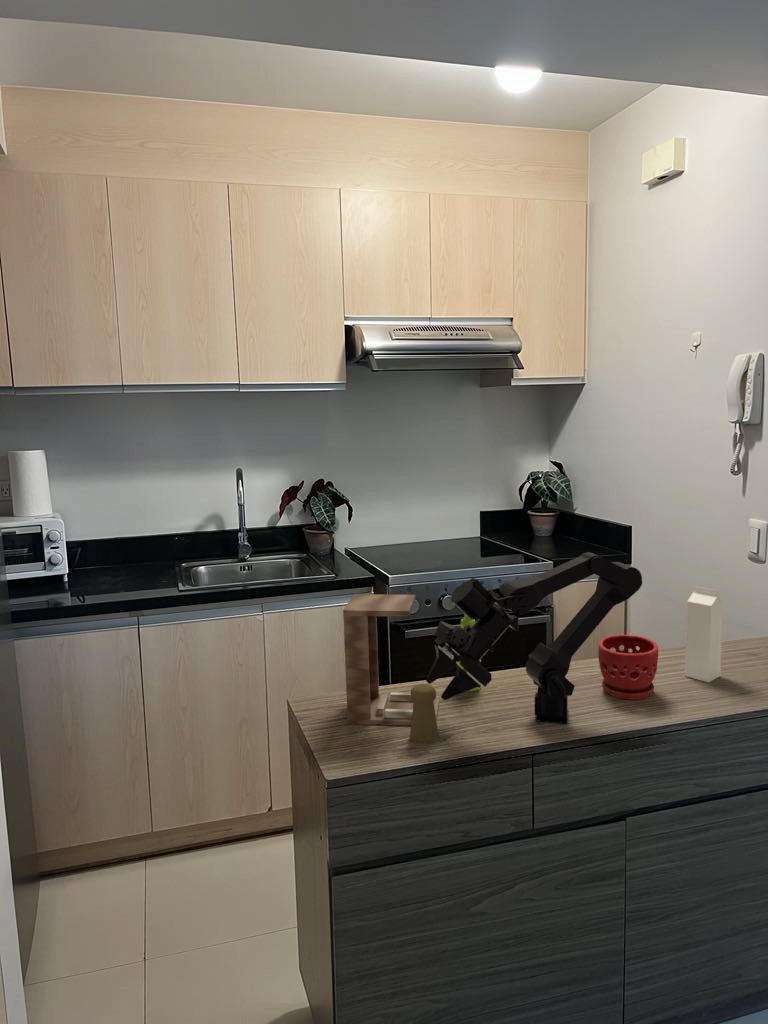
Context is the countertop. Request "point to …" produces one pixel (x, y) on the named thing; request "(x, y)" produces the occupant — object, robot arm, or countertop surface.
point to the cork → (423, 714)
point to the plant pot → (628, 666)
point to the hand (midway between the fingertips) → (434, 690)
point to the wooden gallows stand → (372, 661)
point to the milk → (704, 634)
